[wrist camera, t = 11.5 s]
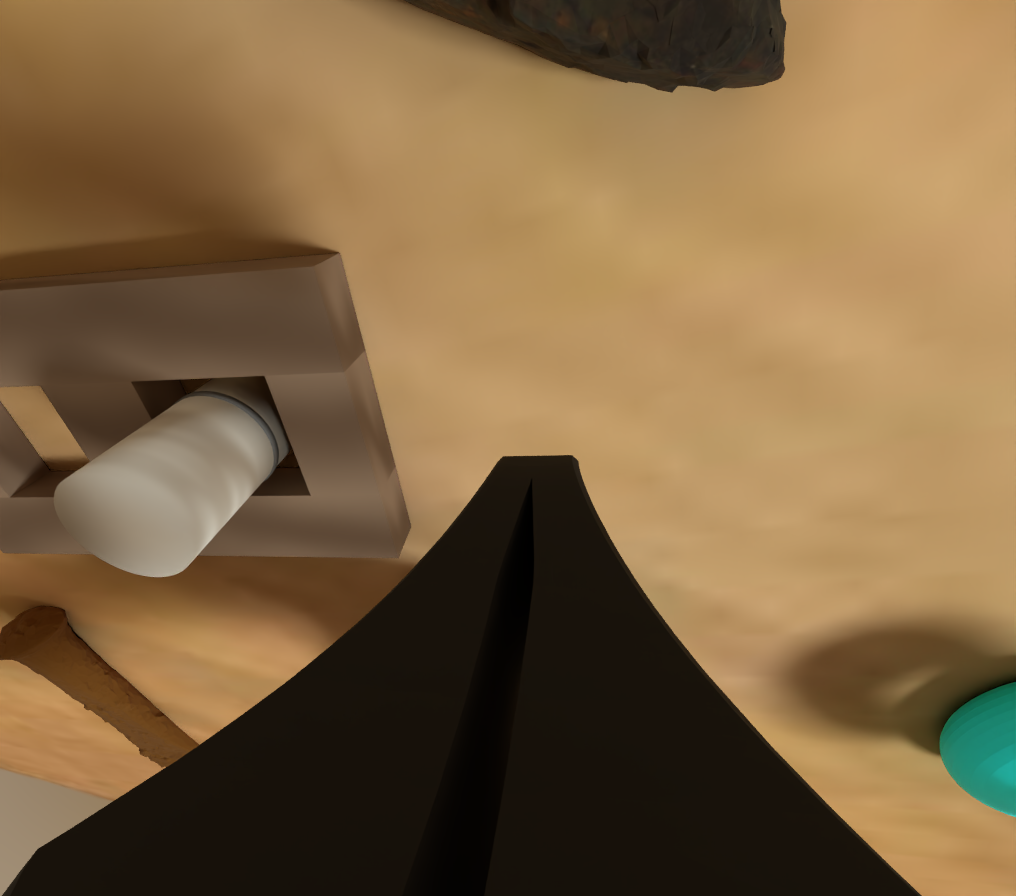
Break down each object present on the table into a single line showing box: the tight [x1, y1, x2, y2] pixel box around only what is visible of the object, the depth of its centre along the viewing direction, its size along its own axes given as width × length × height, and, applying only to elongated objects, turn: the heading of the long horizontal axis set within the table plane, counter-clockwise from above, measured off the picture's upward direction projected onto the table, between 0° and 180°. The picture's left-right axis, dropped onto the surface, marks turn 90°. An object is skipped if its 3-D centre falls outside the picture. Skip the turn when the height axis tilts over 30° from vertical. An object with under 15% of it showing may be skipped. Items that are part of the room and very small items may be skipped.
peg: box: [54, 376, 292, 577], centre depth 17 cm, size 4×4×7 cm
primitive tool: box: [0, 606, 199, 767], centre depth 33 cm, size 19×6×4 cm, turn 10°
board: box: [0, 253, 411, 558], centre depth 20 cm, size 12×20×2 cm, turn 95°
